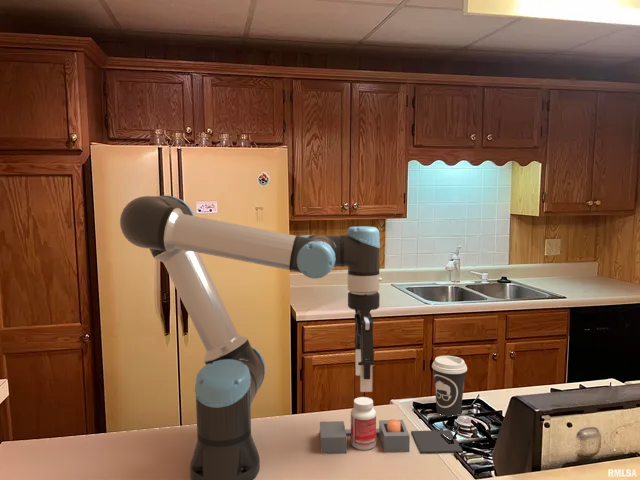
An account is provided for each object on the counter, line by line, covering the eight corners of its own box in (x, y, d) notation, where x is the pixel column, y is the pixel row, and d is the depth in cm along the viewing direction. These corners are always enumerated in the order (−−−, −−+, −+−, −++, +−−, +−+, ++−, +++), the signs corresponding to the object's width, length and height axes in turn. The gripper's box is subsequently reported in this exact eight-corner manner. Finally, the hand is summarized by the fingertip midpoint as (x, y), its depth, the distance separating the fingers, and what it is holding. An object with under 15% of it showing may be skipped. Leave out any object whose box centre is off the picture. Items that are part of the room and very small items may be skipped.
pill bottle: (381, 446, 117) (381, 402, 116) (361, 453, 113) (361, 408, 112) (365, 435, 122) (365, 393, 121) (345, 442, 118) (345, 399, 117)
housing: (321, 453, 113) (321, 437, 113) (319, 433, 123) (319, 418, 123) (409, 451, 114) (409, 435, 113) (400, 431, 124) (401, 416, 123)
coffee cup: (470, 420, 129) (472, 366, 128) (435, 420, 130) (436, 366, 128) (461, 405, 139) (462, 354, 138) (428, 404, 139) (428, 354, 138)
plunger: (388, 445, 116) (388, 425, 116) (386, 438, 119) (386, 419, 119) (401, 445, 116) (401, 425, 116) (398, 438, 119) (399, 419, 119)
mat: (420, 453, 113) (420, 451, 113) (411, 432, 123) (411, 430, 123) (462, 452, 113) (462, 450, 113) (450, 431, 123) (450, 430, 123)
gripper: (387, 301, 103) (386, 401, 105) (372, 282, 125) (372, 366, 127) (352, 301, 103) (352, 402, 105) (343, 283, 125) (344, 366, 127)
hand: (363, 382), depth 116 cm, fingers open, 9 cm apart
